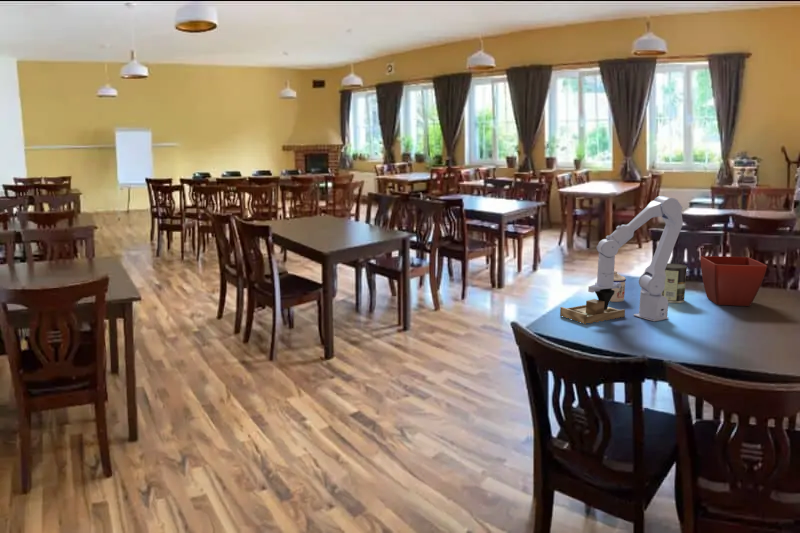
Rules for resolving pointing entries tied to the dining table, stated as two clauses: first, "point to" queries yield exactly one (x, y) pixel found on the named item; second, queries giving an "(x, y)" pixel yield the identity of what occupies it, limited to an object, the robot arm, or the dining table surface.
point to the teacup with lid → (619, 292)
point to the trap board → (583, 317)
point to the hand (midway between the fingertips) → (603, 309)
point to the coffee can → (675, 283)
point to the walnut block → (594, 306)
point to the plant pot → (731, 279)
